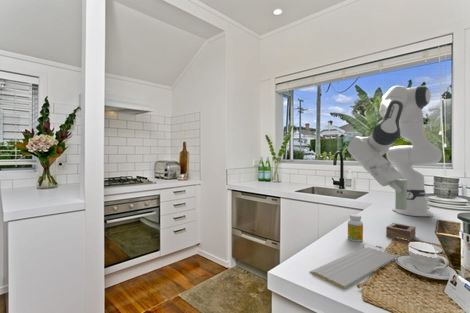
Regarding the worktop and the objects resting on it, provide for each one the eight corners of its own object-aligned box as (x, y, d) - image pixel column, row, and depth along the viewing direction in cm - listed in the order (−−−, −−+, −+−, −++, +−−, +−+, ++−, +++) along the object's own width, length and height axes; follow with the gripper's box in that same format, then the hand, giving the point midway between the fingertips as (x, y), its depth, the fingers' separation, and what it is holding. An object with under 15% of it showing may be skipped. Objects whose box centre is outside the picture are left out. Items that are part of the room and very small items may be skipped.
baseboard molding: (305, 272, 70) (344, 292, 60) (305, 262, 70) (344, 280, 60) (360, 248, 88) (397, 260, 78) (360, 240, 88) (397, 251, 78)
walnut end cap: (393, 231, 105) (393, 222, 105) (415, 236, 99) (415, 226, 99) (386, 236, 99) (386, 226, 99) (409, 241, 93) (409, 231, 93)
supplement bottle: (348, 240, 94) (348, 216, 93) (347, 236, 99) (347, 213, 98) (363, 242, 92) (364, 217, 91) (361, 238, 97) (362, 214, 96)
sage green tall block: (398, 207, 101) (398, 179, 101) (406, 208, 99) (407, 179, 99) (395, 208, 98) (395, 179, 98) (404, 210, 96) (404, 180, 96)
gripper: (374, 161, 97) (402, 188, 89) (390, 160, 110) (415, 184, 103) (362, 172, 100) (388, 198, 93) (379, 170, 114) (403, 193, 106)
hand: (403, 191), depth 98 cm, fingers closed on sage green tall block, 4 cm apart
